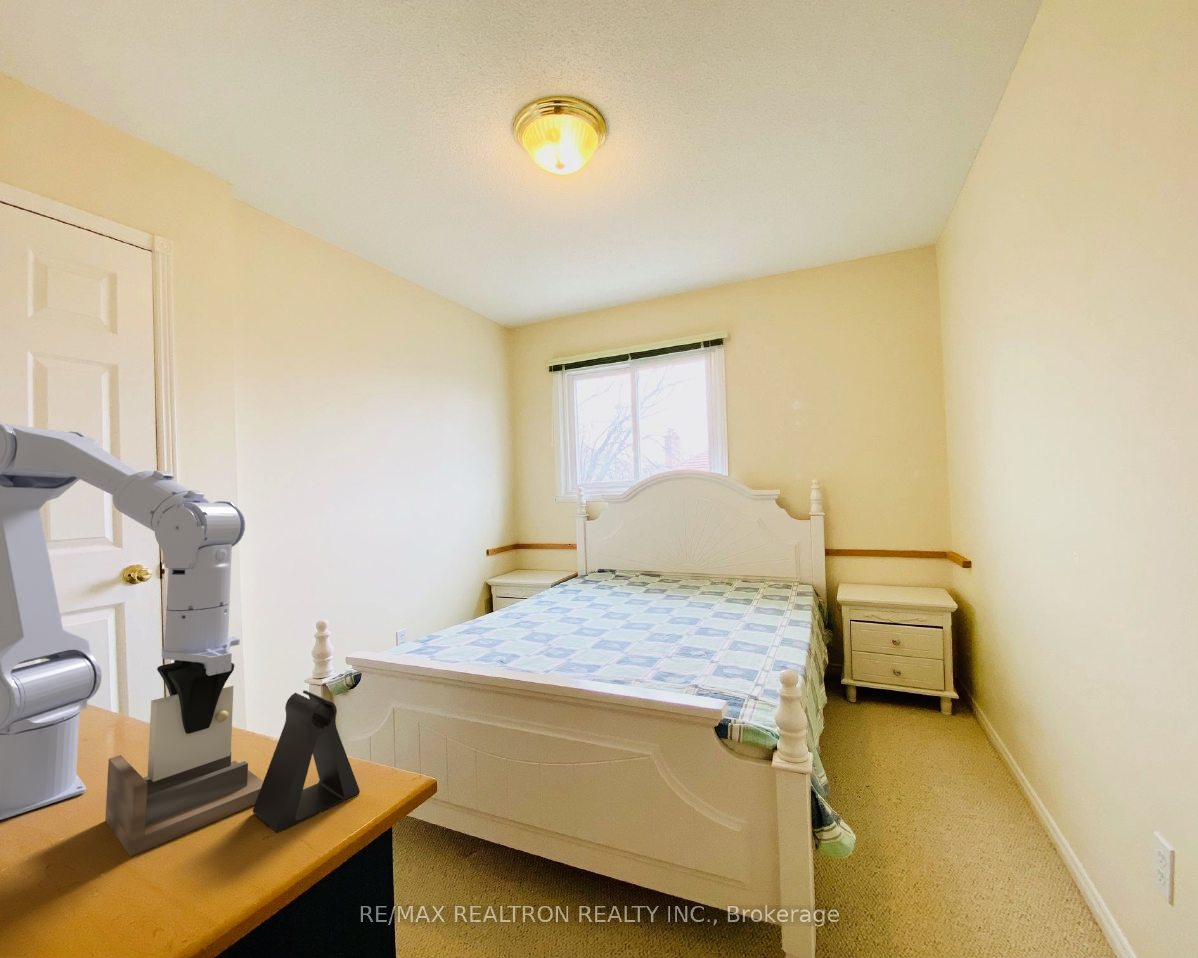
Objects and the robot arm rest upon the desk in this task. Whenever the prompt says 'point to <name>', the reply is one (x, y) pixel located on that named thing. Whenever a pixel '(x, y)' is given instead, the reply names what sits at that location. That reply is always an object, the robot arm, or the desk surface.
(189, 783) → the brown base with rails
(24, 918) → the desk surface
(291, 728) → the phone stand
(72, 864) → the desk surface
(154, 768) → the cabinet door
